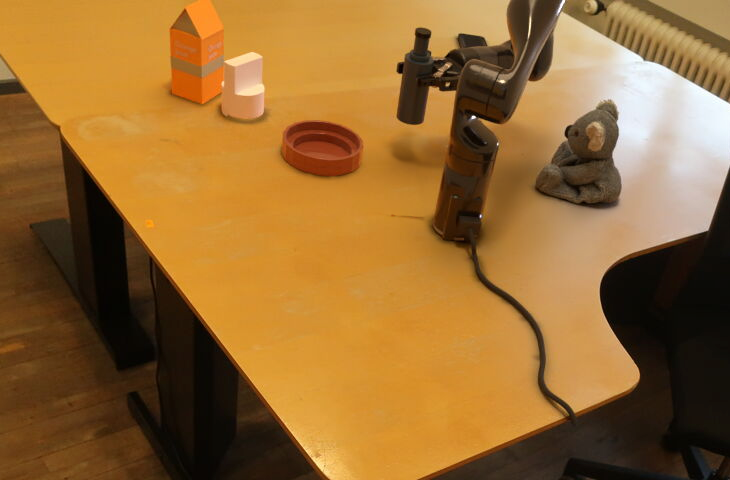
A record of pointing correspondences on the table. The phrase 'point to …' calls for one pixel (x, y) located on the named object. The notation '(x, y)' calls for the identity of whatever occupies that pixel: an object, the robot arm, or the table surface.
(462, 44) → the black flat rounded slab
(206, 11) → the orange juice
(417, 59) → the flask
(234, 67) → the cylinder with rectangular tab
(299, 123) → the bowl
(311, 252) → the table surface
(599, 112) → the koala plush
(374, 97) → the table surface
